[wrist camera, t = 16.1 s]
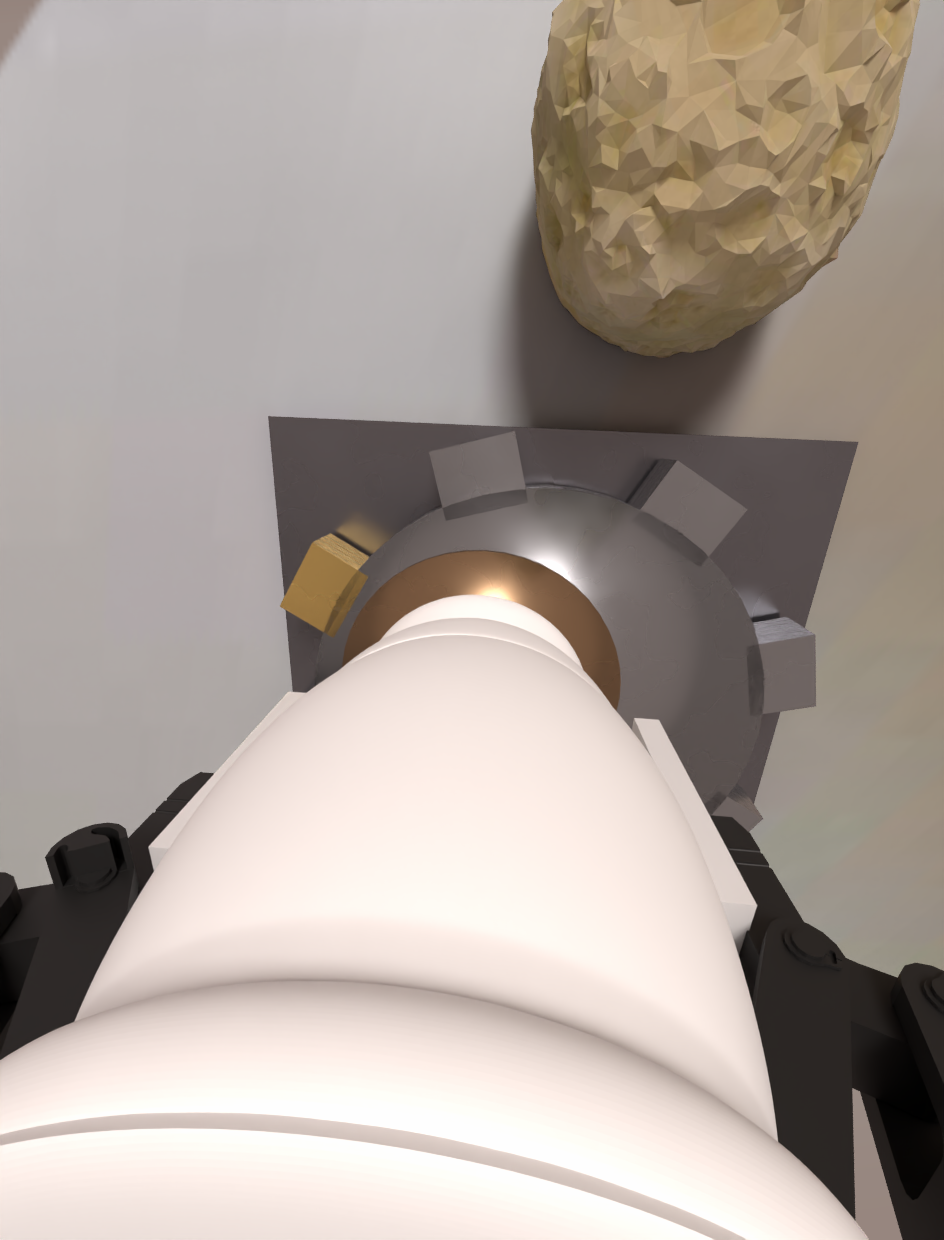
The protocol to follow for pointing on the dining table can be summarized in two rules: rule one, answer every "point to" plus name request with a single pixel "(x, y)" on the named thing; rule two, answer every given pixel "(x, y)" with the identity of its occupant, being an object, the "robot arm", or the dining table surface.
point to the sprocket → (585, 599)
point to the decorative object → (707, 155)
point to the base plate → (591, 460)
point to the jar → (418, 987)
